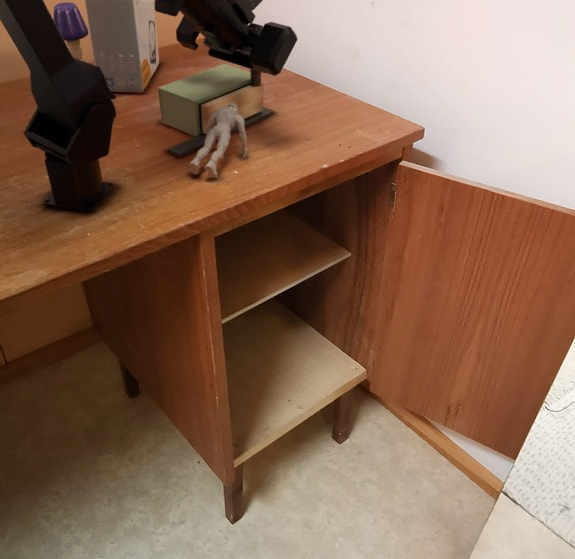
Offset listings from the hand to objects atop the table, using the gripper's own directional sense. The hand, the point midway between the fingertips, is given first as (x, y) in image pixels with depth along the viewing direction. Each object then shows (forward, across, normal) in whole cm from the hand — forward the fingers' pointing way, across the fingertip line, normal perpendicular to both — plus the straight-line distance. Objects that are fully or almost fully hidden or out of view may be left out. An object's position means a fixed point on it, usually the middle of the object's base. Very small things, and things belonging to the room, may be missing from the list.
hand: (261, 68), depth 92 cm
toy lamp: (-9, +18, +19) cm, 28 cm away
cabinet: (-1, +4, +11) cm, 12 cm away
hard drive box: (+3, +27, +8) cm, 29 cm away
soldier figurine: (-6, -6, +16) cm, 19 cm away
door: (0, 0, +10) cm, 10 cm away
